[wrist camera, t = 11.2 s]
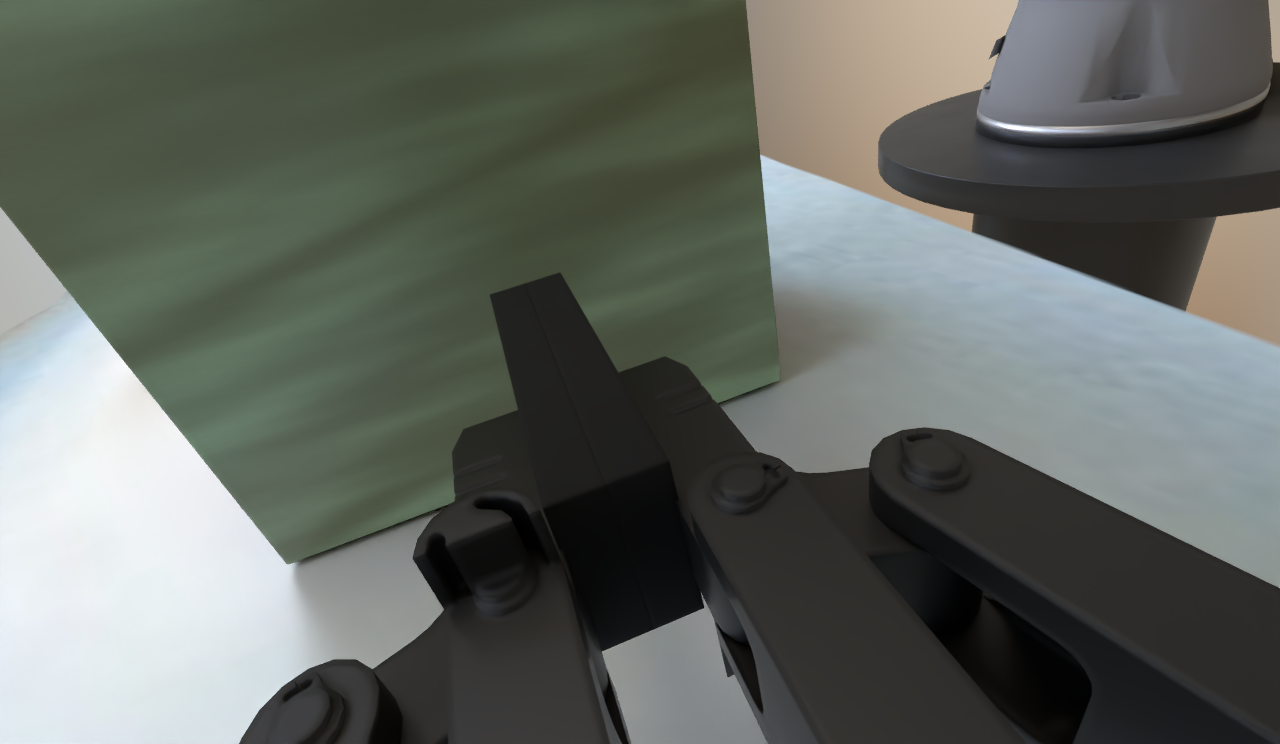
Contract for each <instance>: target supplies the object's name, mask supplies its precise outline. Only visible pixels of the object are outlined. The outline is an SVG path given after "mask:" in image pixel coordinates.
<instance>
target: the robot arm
mask: <svg viewBox="0 0 1280 744" xmlns="http://www.w3.org/2000/svg"><path fill="white" fill-rule="evenodd" d="M1269 19H1270V18H1269V6H1268V0H1019V2H1018V6H1017V8H1016V11H1015V13H1014V16H1013V18H1012V21H1011V23H1010V26H1009V28H1008V30H1007V33H1006V35H1005V36H1003V37H1002V38H1000V39H998V40H997V41H996V43H995V46H994V48H993V50H992V53H991V55H990V58H992V57H993V56H994V55H996V54H998V53H999V55H998V57H997V60H996V63H995V66H994V69H993V72H992V76H991V80H990V81H989V82H987V83H986V84H985V85H984V87H983V90H982V92H981V95H980V99H979V105H978V107H977V116H976V129H977V131H978V132H979V133H981V134H982V135H984V136H986V137H988V138H991V139H993V140H997V141H1000V142H1005V143H1010V144H1016V145H1023V146H1033V147H1046V148H1103V147H1120V146H1132V145H1142V144H1151V143H1159V142H1166V141H1173V140H1179V139H1184V138H1190V137H1195V136H1200V135H1204V134H1208V133H1212V132H1216V131H1220V130H1223V129H1226V128H1230V127H1232V126H1235V125H1238V124H1240V123H1243V122H1245V121H1247V120H1249V119H1251V118H1253V117H1254V116H1256V115H1257V114H1258V113H1259V112H1260V111H1261V110H1262V108H1263V106H1264V103H1265V100H1266V97H1267V94H1268V91H1269V88H1270V84H1271V83H1270V80H1271V77H1272V72H1273V60H1272V52H1271V51H1272V50H1271V31H1270V20H1269ZM990 58H989V59H990ZM490 298H491V302H492V306H493V311H494V315H495V319H496V323H497V327H498V331H499V335H500V339H501V343H502V347H503V351H504V355H505V359H506V363H507V367H508V371H509V375H510V379H511V383H512V387H513V392H514V396H515V400H516V404H517V408H518V410H516V411H513V412H511V413H508V414H505V415H502V416H499V417H496V418H493V419H491V420H488V421H485V422H482V423H479V424H476V425H474V426H471V427H468V428H465V429H463V431H462V433H461V435H460V437H459V439H458V441H457V443H456V445H455V447H454V449H453V451H452V462H453V475H454V478H453V479H454V493H455V495H456V497H455V501H454V502H452V503H451V504H449V505H448V506H447V507H446V508H445V509H443V510H442V511H441V512H440V513H439V514H437V515H436V516H435V517H434V518H433V519H431V521H430V522H429V523H428V525H427V526H426V528H425V529H424V531H423V532H422V533H421V535H420V536H419V538H418V540H417V543H416V547H415V551H414V554H413V560H414V562H415V563H416V565H417V566H418V568H419V570H420V571H421V573H422V574H423V576H424V578H425V579H426V581H427V583H428V584H429V586H430V587H431V589H432V591H433V592H434V594H435V595H436V597H437V599H438V600H439V602H440V603H441V605H442V607H443V608H444V611H443V612H442V613H441V615H440V616H439V617H438V618H437V619H436V620H435V621H434V622H433V624H432V625H431V626H430V627H429V628H428V629H427V630H425V631H424V632H423V633H422V634H421V635H419V636H418V637H417V638H416V639H415V640H413V641H412V642H411V643H409V644H408V645H407V646H405V647H404V648H402V649H401V650H399V651H398V652H397V653H395V654H394V655H392V656H391V657H389V658H388V659H387V660H385V661H384V662H382V663H381V664H380V665H378V666H377V667H375V668H374V669H371V668H369V667H368V666H366V665H364V664H363V663H361V662H359V661H358V660H356V659H334V660H331V661H329V662H326V663H323V664H320V665H318V666H315V667H312V668H310V669H308V670H306V671H305V672H303V673H302V674H300V675H299V676H297V677H296V678H294V679H293V680H291V681H290V682H288V683H287V684H286V685H284V686H283V687H282V688H281V689H280V690H279V691H278V692H277V693H276V694H275V695H274V696H273V697H272V698H271V699H270V700H269V701H268V702H267V703H266V704H265V705H264V706H263V707H262V708H261V709H260V710H259V712H258V713H257V715H256V717H255V718H254V720H253V721H252V723H251V724H250V726H249V728H248V729H247V731H246V732H245V734H244V736H243V737H242V739H241V741H240V743H239V744H631V741H630V738H629V734H628V731H627V727H626V724H625V721H624V717H623V714H622V710H621V707H620V704H619V700H618V697H617V693H616V690H615V688H614V685H613V683H612V681H611V678H610V676H609V673H608V671H607V669H606V665H605V662H604V658H603V655H602V651H604V650H606V649H609V648H611V647H613V646H616V645H618V644H620V643H623V642H625V641H627V640H630V639H632V638H635V637H637V636H639V635H642V634H644V633H646V632H649V631H651V630H653V629H656V628H658V627H660V626H663V625H665V624H668V623H670V622H672V621H675V620H677V619H679V618H682V617H684V616H686V615H689V614H691V613H693V612H696V611H698V610H700V609H703V608H704V605H703V600H702V596H701V593H702V595H703V597H704V599H705V601H706V603H707V605H708V607H709V609H710V611H711V613H712V615H713V617H714V620H715V625H716V629H717V634H718V638H719V642H720V647H721V651H722V656H723V660H724V664H725V668H726V672H727V677H730V676H732V675H734V674H735V676H736V678H737V680H738V682H739V684H740V686H741V688H742V690H743V693H744V695H745V697H746V699H747V701H748V703H749V705H750V707H751V709H752V711H753V713H754V715H755V717H756V719H757V721H758V724H759V726H760V728H761V730H762V732H763V734H764V736H765V738H766V740H767V742H768V744H1280V588H1278V587H1276V586H1274V585H1272V584H1270V583H1268V582H1266V581H1264V580H1261V579H1259V578H1257V577H1255V576H1253V575H1251V574H1249V573H1247V572H1245V571H1243V570H1241V569H1239V568H1237V567H1235V566H1233V565H1231V564H1229V563H1227V562H1225V561H1223V560H1221V559H1218V558H1216V557H1214V556H1212V555H1210V554H1208V553H1206V552H1204V551H1202V550H1200V549H1198V548H1196V547H1194V546H1192V545H1190V544H1188V543H1186V542H1184V541H1182V540H1180V539H1177V538H1175V537H1173V536H1171V535H1169V534H1167V533H1165V532H1163V531H1161V530H1159V529H1157V528H1155V527H1153V526H1151V525H1149V524H1147V523H1145V522H1143V521H1141V520H1139V519H1136V518H1134V517H1132V516H1130V515H1128V514H1126V513H1124V512H1122V511H1120V510H1118V509H1116V508H1114V507H1112V506H1110V505H1108V504H1106V503H1104V502H1102V501H1100V500H1098V499H1095V498H1093V497H1091V496H1089V495H1087V494H1085V493H1083V492H1081V491H1079V490H1077V489H1075V488H1073V487H1071V486H1069V485H1067V484H1065V483H1063V482H1061V481H1059V480H1057V479H1055V478H1052V477H1050V476H1048V475H1046V474H1044V473H1042V472H1040V471H1038V470H1036V469H1034V468H1032V467H1030V466H1028V465H1026V464H1024V463H1022V462H1020V461H1018V460H1016V459H1014V458H1011V457H1009V456H1007V455H1005V454H1003V453H1001V452H999V451H997V450H995V449H993V448H991V447H989V446H987V445H985V444H983V443H981V442H979V441H977V440H975V439H973V438H970V437H967V436H964V435H961V434H958V433H955V432H953V431H950V430H943V429H933V428H916V429H909V430H901V431H899V432H897V433H894V434H892V435H890V436H888V437H885V438H883V439H882V440H881V441H880V442H879V444H878V445H877V446H876V447H875V448H874V449H873V450H872V453H871V458H870V463H869V467H868V468H860V469H852V470H844V471H836V472H828V473H803V472H796V471H794V470H793V469H792V468H791V467H789V466H788V465H787V464H786V463H784V462H783V461H782V460H780V459H779V458H776V457H773V456H770V455H766V454H763V453H760V452H756V451H755V450H754V448H753V447H752V446H751V445H750V443H749V442H748V441H747V440H746V438H745V437H744V436H743V435H742V433H741V432H740V431H739V430H738V428H737V427H736V426H735V425H734V423H733V422H732V421H731V420H730V418H729V417H728V416H727V415H726V413H725V412H724V411H723V410H722V409H721V407H720V406H719V405H718V404H717V402H716V401H715V400H713V399H712V397H711V395H710V394H709V392H708V391H707V390H706V389H705V387H704V386H702V385H701V383H700V381H699V380H698V379H697V377H696V376H695V375H694V374H693V372H692V371H691V370H690V369H689V367H688V366H686V365H684V364H681V363H679V362H677V361H675V360H672V359H670V358H668V357H666V356H664V357H661V358H658V359H656V360H653V361H650V362H647V363H644V364H641V365H638V366H636V367H633V368H630V369H627V370H624V371H621V372H618V371H617V369H616V367H615V366H614V364H613V362H612V361H611V359H610V357H609V355H608V354H607V352H606V350H605V348H604V347H603V345H602V343H601V342H600V340H599V338H598V336H597V335H596V333H595V331H594V329H593V328H592V326H591V324H590V323H589V321H588V319H587V317H586V316H585V314H584V312H583V310H582V309H581V307H580V305H579V304H578V302H577V300H576V298H575V297H574V295H573V293H572V291H571V290H570V288H569V286H568V285H567V283H566V281H565V279H564V278H563V276H562V274H561V272H559V273H556V274H553V275H550V276H547V277H544V278H540V279H537V280H534V281H531V282H528V283H525V284H521V285H518V286H515V287H512V288H509V289H506V290H503V291H499V292H496V293H493V294H490ZM700 591H701V592H700Z"/></svg>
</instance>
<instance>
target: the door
mask: <svg viewBox="0 0 1280 744" xmlns="http://www.w3.org/2000/svg"><path fill="white" fill-rule="evenodd" d="M0 207H1V208H2V210H3V211H4V212H5V213H6V215H7V216H8V217H9V218H10V220H11V221H12V222H13V223H14V225H15V226H16V227H17V228H18V229H19V231H20V232H21V233H22V235H23V236H24V237H25V238H26V239H27V241H28V242H29V243H30V245H31V246H32V247H33V248H34V249H35V251H36V252H37V253H38V255H39V256H40V257H41V258H42V260H43V261H44V262H45V263H46V265H47V266H48V267H49V268H50V270H51V271H52V272H53V273H54V274H55V275H56V277H57V278H58V279H59V281H60V282H61V283H62V284H63V286H64V287H65V288H66V289H67V291H68V292H69V293H70V294H71V296H72V297H73V298H74V299H75V301H76V302H77V303H78V304H79V306H80V307H81V308H82V309H83V311H84V312H85V313H86V314H87V316H88V317H89V318H90V319H91V321H92V322H93V323H94V324H95V326H96V327H97V328H98V329H99V331H100V332H101V333H102V334H103V336H104V337H105V338H106V339H107V341H108V342H109V343H110V344H111V346H112V347H113V348H114V349H115V351H116V352H117V353H118V354H119V355H120V357H121V358H122V359H123V360H124V362H125V363H126V364H127V365H128V367H129V368H130V369H131V370H132V372H133V373H134V374H135V375H136V377H137V378H138V379H139V380H140V382H141V383H142V384H143V385H144V387H145V388H146V389H147V390H148V392H149V393H150V394H151V395H152V397H153V398H154V399H155V400H156V402H157V403H158V404H159V405H160V407H161V408H162V409H163V410H164V412H165V413H166V414H167V415H168V417H169V418H170V419H171V420H172V422H173V423H174V424H175V425H176V427H177V428H178V429H179V430H180V432H181V433H182V434H183V435H184V436H185V438H186V439H187V440H188V441H189V443H190V444H191V445H192V446H193V448H194V449H195V450H196V451H197V453H198V454H199V455H200V456H201V458H202V459H203V460H204V461H205V463H206V464H207V465H208V466H209V468H210V469H211V470H212V471H213V473H214V474H215V475H216V476H217V478H218V479H219V480H220V481H221V483H222V484H223V485H224V486H225V488H226V489H227V490H228V491H229V493H230V494H231V495H232V496H233V498H234V499H235V500H236V501H237V503H238V504H239V505H240V506H241V508H242V509H243V510H244V511H245V513H246V514H247V515H248V516H249V517H250V519H251V520H252V521H253V522H254V524H255V525H256V526H257V527H258V529H259V530H260V531H261V532H262V534H263V535H264V536H265V537H266V539H267V540H268V541H269V542H270V544H271V545H272V546H273V547H274V549H275V550H276V551H277V552H278V554H279V555H280V556H281V557H282V559H283V560H284V561H285V562H286V564H291V563H294V562H296V561H299V560H302V559H304V558H307V557H310V556H312V555H315V554H318V553H320V552H323V551H326V550H328V549H331V548H334V547H336V546H339V545H342V544H344V543H347V542H350V541H352V540H355V539H358V538H360V537H363V536H366V535H368V534H371V533H374V532H376V531H379V530H381V529H384V528H387V527H389V526H392V525H395V524H397V523H400V522H403V521H405V520H408V519H411V518H413V517H416V516H419V515H421V514H424V513H427V512H429V511H432V510H435V509H437V508H440V507H443V506H445V505H448V504H451V503H452V502H454V501H455V497H456V495H455V493H454V479H453V478H454V475H453V462H452V451H453V449H454V447H455V445H456V443H457V441H458V439H459V437H460V435H461V433H462V431H463V429H465V428H468V427H471V426H474V425H476V424H479V423H482V422H485V421H488V420H491V419H493V418H496V417H499V416H502V415H505V414H508V413H511V412H513V411H516V410H518V408H517V404H516V400H515V396H514V392H513V387H512V383H511V379H510V375H509V371H508V367H507V363H506V359H505V355H504V351H503V347H502V343H501V339H500V335H499V331H498V327H497V323H496V319H495V315H494V311H493V306H492V302H491V298H490V294H493V293H496V292H499V291H503V290H506V289H509V288H512V287H515V286H518V285H521V284H525V283H528V282H531V281H534V280H537V279H540V278H544V277H547V276H550V275H553V274H556V273H559V272H561V274H562V276H563V278H564V279H565V281H566V283H567V285H568V286H569V288H570V290H571V291H572V293H573V295H574V297H575V298H576V300H577V302H578V304H579V305H580V307H581V309H582V310H583V312H584V314H585V316H586V317H587V319H588V321H589V323H590V324H591V326H592V328H593V329H594V331H595V333H596V335H597V336H598V338H599V340H600V342H601V343H602V345H603V347H604V348H605V350H606V352H607V354H608V355H609V357H610V359H611V361H612V362H613V364H614V366H615V367H616V369H617V371H618V372H621V371H624V370H627V369H630V368H633V367H636V366H638V365H641V364H644V363H647V362H650V361H653V360H656V359H658V358H661V357H664V356H666V357H668V358H670V359H672V360H675V361H677V362H679V363H681V364H684V365H686V366H688V367H689V369H690V370H691V371H692V372H693V374H694V375H695V376H696V377H697V379H698V380H699V381H700V383H701V385H702V386H704V387H705V389H706V390H707V391H708V392H709V394H710V395H711V397H712V399H713V400H715V401H716V402H717V403H720V402H722V401H725V400H728V399H730V398H733V397H736V396H738V395H741V394H744V393H746V392H749V391H752V390H754V389H757V388H760V387H762V386H765V385H768V384H770V383H773V382H776V381H778V380H780V379H781V375H780V365H779V354H778V343H777V332H776V322H775V311H774V300H773V289H772V279H771V268H770V257H769V246H768V236H767V225H766V214H765V203H764V193H763V182H762V171H761V160H760V150H759V139H758V128H757V117H756V107H755V97H754V86H753V74H752V64H751V53H750V42H749V32H748V21H747V10H746V0H0Z"/></svg>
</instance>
